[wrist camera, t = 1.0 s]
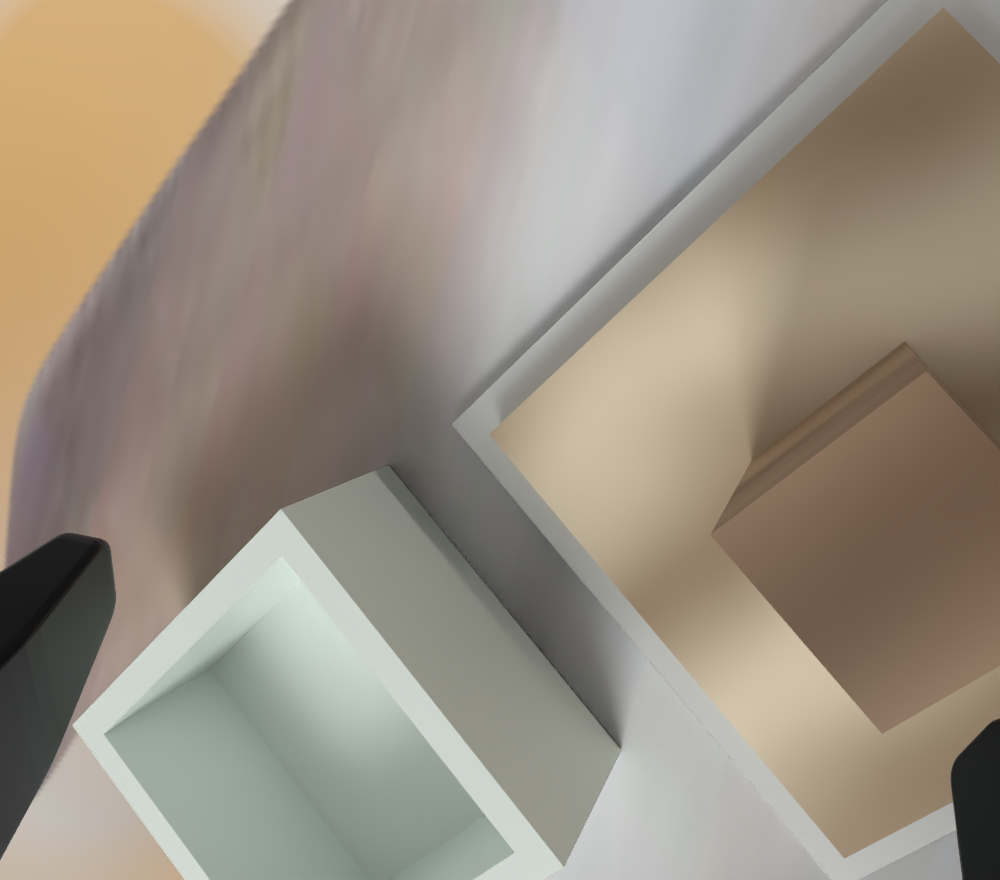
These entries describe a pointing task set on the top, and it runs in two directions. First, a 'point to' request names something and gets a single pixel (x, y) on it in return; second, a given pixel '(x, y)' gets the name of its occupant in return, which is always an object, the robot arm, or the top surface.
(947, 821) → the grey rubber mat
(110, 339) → the top surface
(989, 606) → the oak lid
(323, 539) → the mint square tray
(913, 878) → the top surface
